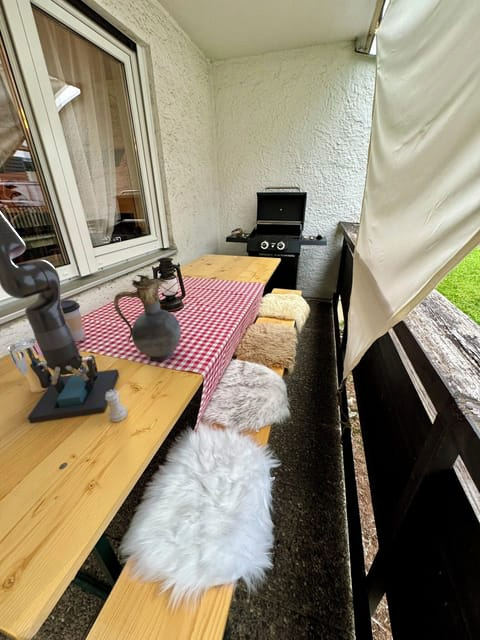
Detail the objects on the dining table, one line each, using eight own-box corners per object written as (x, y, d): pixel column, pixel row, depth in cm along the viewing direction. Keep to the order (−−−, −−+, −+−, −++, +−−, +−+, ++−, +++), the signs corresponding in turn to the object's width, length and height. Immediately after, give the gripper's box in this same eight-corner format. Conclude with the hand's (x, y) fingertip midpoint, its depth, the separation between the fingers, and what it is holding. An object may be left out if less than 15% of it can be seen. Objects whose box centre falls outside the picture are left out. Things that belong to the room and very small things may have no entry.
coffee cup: (87, 330, 109) (75, 297, 102) (92, 338, 102) (80, 304, 95) (61, 337, 104) (47, 303, 97) (65, 347, 97) (50, 311, 90)
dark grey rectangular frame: (30, 423, 66) (27, 417, 65) (57, 381, 80) (55, 376, 79) (104, 412, 69) (102, 407, 68) (118, 374, 83) (117, 369, 82)
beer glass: (61, 382, 80) (42, 341, 73) (36, 397, 74) (13, 354, 67) (49, 375, 83) (30, 335, 76) (24, 388, 77) (2, 347, 70)
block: (61, 410, 69) (56, 399, 68) (75, 385, 78) (71, 375, 76) (83, 407, 70) (79, 396, 68) (94, 383, 79) (91, 372, 77)
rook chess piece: (108, 424, 65) (99, 401, 61) (110, 411, 69) (102, 388, 65) (127, 420, 66) (119, 397, 62) (128, 407, 70) (121, 385, 66)
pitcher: (183, 362, 87) (169, 277, 73) (124, 367, 85) (99, 281, 72) (185, 344, 97) (173, 266, 83) (132, 349, 95) (112, 270, 81)
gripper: (91, 330, 70) (107, 378, 78) (33, 336, 68) (55, 385, 75) (81, 345, 63) (100, 396, 71) (16, 352, 61) (42, 403, 69)
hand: (77, 390), depth 73 cm, fingers open, 6 cm apart
